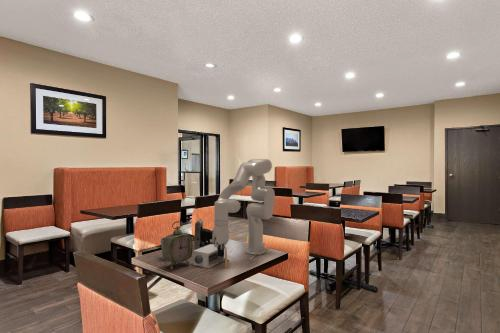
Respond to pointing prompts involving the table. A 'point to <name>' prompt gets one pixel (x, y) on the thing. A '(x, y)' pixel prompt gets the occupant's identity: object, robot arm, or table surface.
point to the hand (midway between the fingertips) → (220, 256)
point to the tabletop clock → (177, 246)
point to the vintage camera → (201, 235)
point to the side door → (226, 258)
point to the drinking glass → (162, 248)
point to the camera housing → (207, 256)
